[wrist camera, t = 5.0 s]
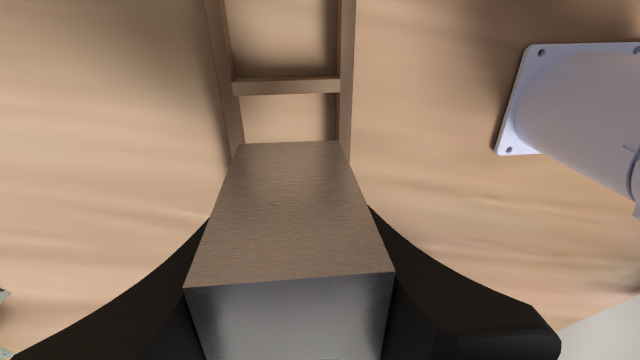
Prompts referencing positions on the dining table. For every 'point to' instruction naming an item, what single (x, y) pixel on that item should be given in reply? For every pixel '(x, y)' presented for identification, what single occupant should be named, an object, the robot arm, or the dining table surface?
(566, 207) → the dining table surface
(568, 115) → the robot arm
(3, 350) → the metal bracket
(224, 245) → the square peg
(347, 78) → the rail
